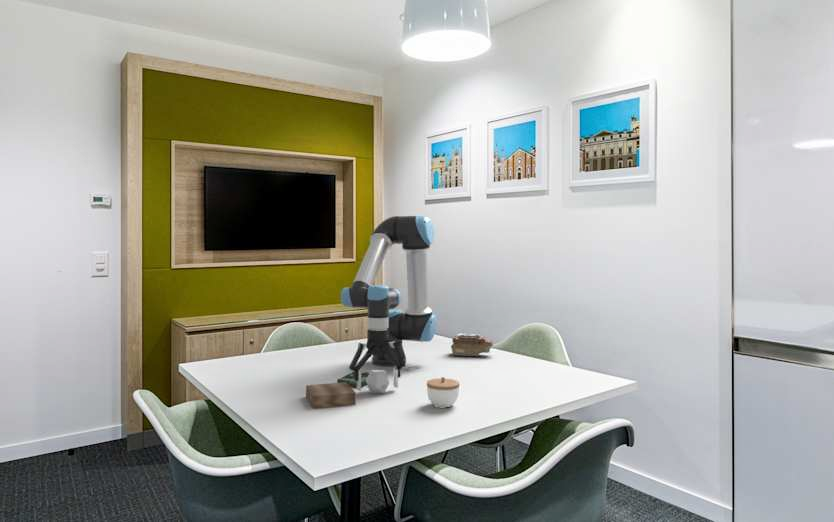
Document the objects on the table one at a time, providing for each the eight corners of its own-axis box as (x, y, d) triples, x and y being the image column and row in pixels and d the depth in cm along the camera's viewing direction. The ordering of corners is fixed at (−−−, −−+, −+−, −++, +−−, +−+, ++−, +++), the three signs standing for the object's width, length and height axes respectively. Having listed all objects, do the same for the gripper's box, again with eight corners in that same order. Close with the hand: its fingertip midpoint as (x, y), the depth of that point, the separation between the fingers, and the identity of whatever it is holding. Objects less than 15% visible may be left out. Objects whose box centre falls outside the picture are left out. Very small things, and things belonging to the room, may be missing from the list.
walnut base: (345, 393, 198) (346, 382, 198) (355, 404, 185) (355, 392, 185) (306, 396, 194) (306, 385, 193) (312, 408, 180) (313, 396, 180)
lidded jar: (425, 401, 190) (425, 373, 190) (456, 400, 191) (456, 373, 191) (428, 410, 179) (428, 381, 179) (461, 410, 180) (461, 381, 180)
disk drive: (354, 377, 223) (336, 386, 209) (354, 370, 223) (336, 379, 209) (378, 380, 220) (361, 389, 206) (378, 373, 220) (362, 381, 206)
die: (379, 399, 194) (394, 375, 197) (359, 385, 196) (374, 362, 198) (380, 401, 202) (395, 377, 205) (360, 388, 203) (375, 365, 206)
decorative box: (455, 351, 276) (455, 331, 275) (496, 354, 270) (496, 333, 269) (448, 356, 263) (449, 335, 263) (491, 359, 257) (491, 338, 257)
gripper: (407, 325, 207) (407, 382, 208) (341, 328, 199) (340, 388, 199) (414, 328, 200) (413, 388, 201) (345, 332, 192) (345, 393, 192)
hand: (377, 388), depth 200 cm, fingers open, 13 cm apart
